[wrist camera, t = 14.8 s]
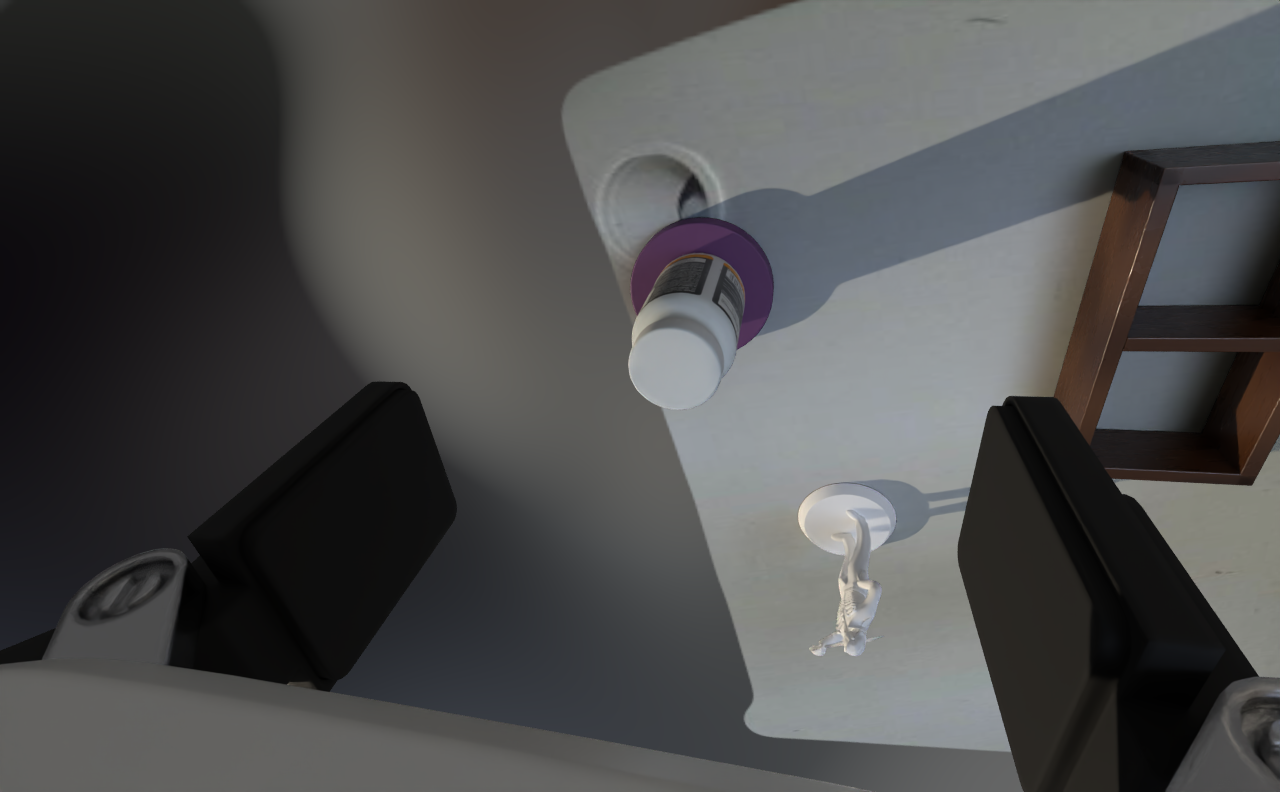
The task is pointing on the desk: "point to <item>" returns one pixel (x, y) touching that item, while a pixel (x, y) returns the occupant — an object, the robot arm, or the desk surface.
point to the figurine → (849, 553)
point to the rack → (1174, 328)
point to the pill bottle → (687, 331)
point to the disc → (717, 242)
